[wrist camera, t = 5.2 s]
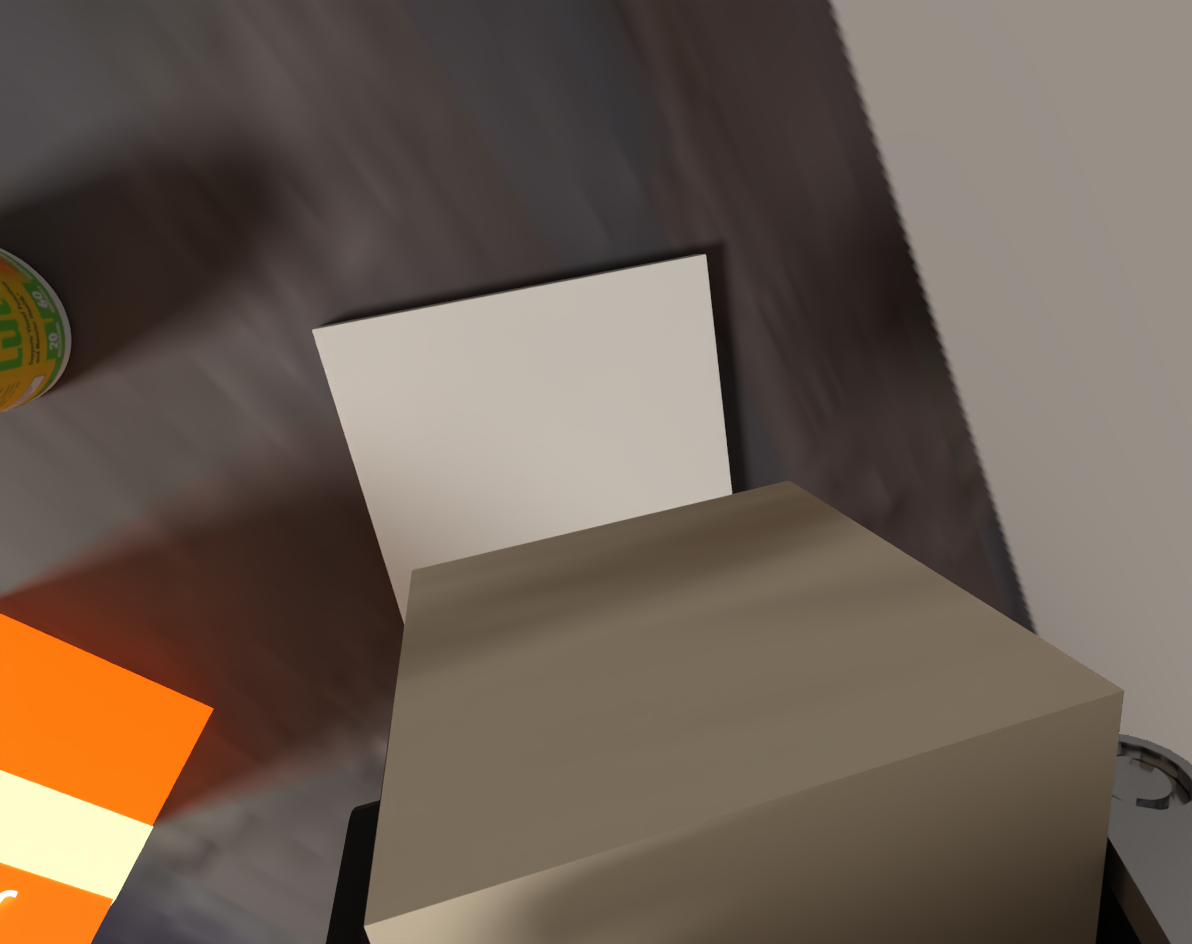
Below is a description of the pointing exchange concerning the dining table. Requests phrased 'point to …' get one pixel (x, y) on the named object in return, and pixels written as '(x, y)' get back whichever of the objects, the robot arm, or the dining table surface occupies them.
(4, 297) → the supplement bottle
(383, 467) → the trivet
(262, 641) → the dining table surface
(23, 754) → the orange juice
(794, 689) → the beech block
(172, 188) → the dining table surface
